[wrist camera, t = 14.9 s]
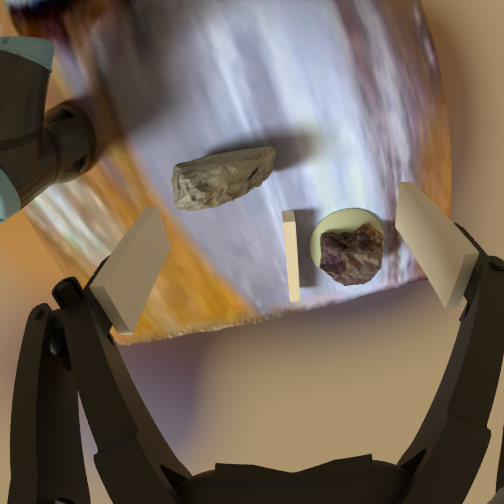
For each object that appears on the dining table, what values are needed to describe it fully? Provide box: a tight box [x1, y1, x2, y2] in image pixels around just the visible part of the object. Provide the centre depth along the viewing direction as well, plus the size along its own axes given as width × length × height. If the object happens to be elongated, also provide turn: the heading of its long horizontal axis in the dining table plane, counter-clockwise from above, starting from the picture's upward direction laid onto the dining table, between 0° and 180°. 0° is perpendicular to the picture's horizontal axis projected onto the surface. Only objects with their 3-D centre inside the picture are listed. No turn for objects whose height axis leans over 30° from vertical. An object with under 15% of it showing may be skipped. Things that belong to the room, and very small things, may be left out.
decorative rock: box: [171, 146, 276, 211], centre depth 39 cm, size 16×7×15 cm, turn 99°
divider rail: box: [282, 210, 300, 302], centre depth 53 cm, size 2×18×4 cm, turn 8°
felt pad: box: [309, 208, 385, 272], centre depth 52 cm, size 15×15×1 cm
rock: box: [319, 223, 384, 286], centre depth 49 cm, size 12×9×10 cm
